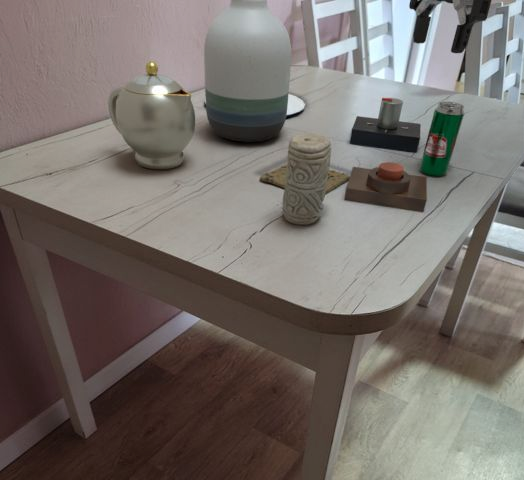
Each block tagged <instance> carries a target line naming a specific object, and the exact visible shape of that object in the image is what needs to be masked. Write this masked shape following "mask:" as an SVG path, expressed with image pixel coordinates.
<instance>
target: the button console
mask: <svg viewBox="0 0 524 480" xmlns="http://www.w3.org/2000/svg"><path fill="white" fill-rule="evenodd" d="M378 168H379V166H378V167H377V166H376V167H373V168H366V167H358V166H352V169H351V172H350V175H349V177H350V178H349V180H348V181H347V185H346V188H345V194H344V201H347V202H355V203H359V204H360V203H361V204H368V205H373V206H374V205H375V206H379V207H380V206H381V207H386V208H387V207H388V208H394V209H398V210H399V209H400V210H407V211H413V212H420V213H424V211H425V208H426V203H427V201H428V192H427V191H428V186H427V185H428V177H427V176H423V175H415V174H409V173H408V172H407V171H405V170H403V174H402V178H401V180H394V181H392V180H385V179H382V178H380V177H378V176H377V173H378Z"/></svg>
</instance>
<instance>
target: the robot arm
mask: <svg viewBox="0 0 524 480" xmlns="http://www.w3.org/2000/svg"><path fill="white" fill-rule="evenodd" d="M443 2H446V3H448V4H452V5H453V8H454V9H453V10H455V11H456V13H457V18H458V23H459V24H457V25H456V29H455V33H454V37H453V40H452V44H451V48H450V52H451V53H452V54H463V52H464V51H465V50H466V49H467V47H468V44H469V41H470V37H471V35H472V29H473V27H474V25H475V24H477V23H481V22H485V21H487V19H488V16H489V13H490V8H491V5H492V0H410V1H409V5H408V6H409V9H410V10H413V11H414V12H415V15H416V20H415V25H414V29H413V34H412V36H413V38H412V39H413V44H425V43H426V42H427V38H428V32H429V28H430V25H431V19H432V16H430V15H431V14H432V13H433V12H434V11H435V9H436V8H437V7H438V5H440V4H441V3H443Z"/></svg>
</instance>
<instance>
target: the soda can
mask: <svg viewBox="0 0 524 480" xmlns="http://www.w3.org/2000/svg"><path fill="white" fill-rule="evenodd" d="M464 108H465V106H464V105H463V104H461V103H458V102H455V101H440V102H438V106H437V107H435V108H434V111H433V115H432V119H431V122H430V127H429V131H428V134H427V138H426V143H425V145H424V150H423V152H422V153H423V154H422V157H421V161H420V165H419V170H420V172H421V173H422V174H423V175H425V176H428V177H432V178H440V177H444V176H445V175H446V174H447V172H448V170H449V166H450V164H451V160H452V156H453V153H454V149H455V146H456V143H457V140H458V137H459V133H460V129H461V127H462V124H463V123H462V122H463V119H464V116H465V111H464Z"/></svg>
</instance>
